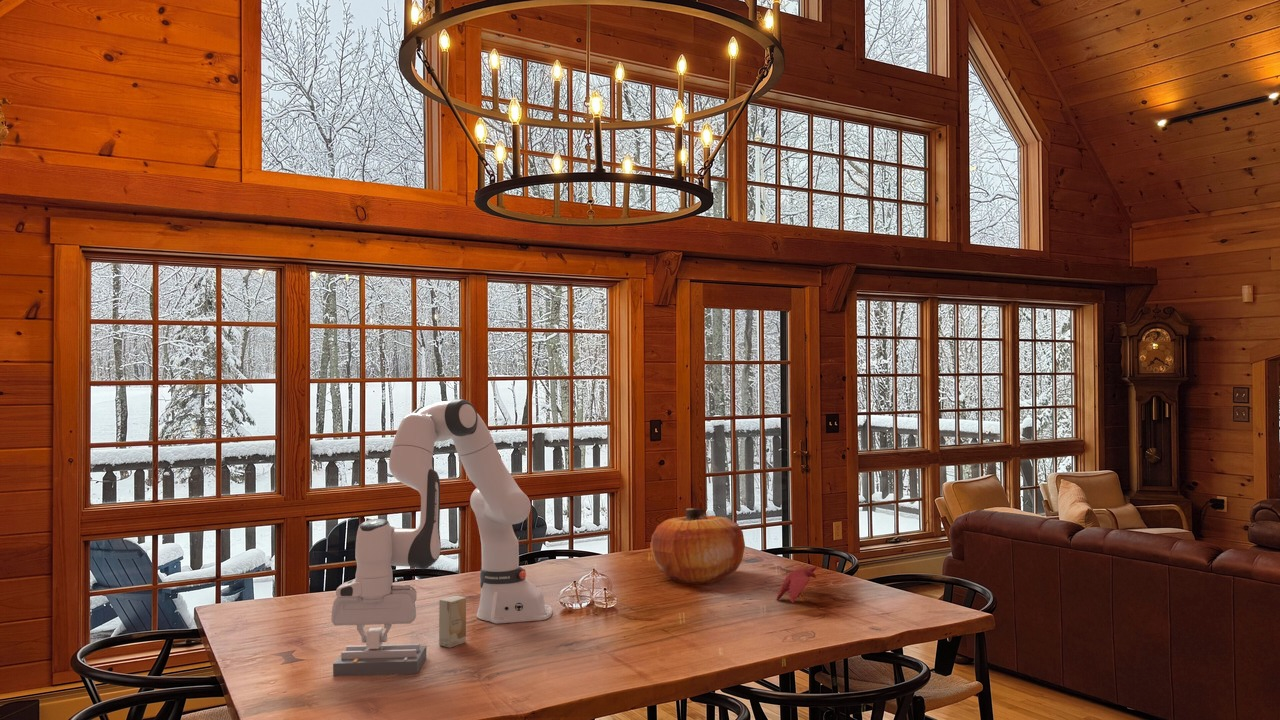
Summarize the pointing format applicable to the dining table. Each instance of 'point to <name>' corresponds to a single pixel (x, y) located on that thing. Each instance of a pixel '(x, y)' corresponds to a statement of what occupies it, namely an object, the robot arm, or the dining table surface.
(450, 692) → the dining table surface
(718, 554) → the pumpkin
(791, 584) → the decorative bird sculpture
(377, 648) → the fader knob
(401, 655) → the fader console
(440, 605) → the skincare box
